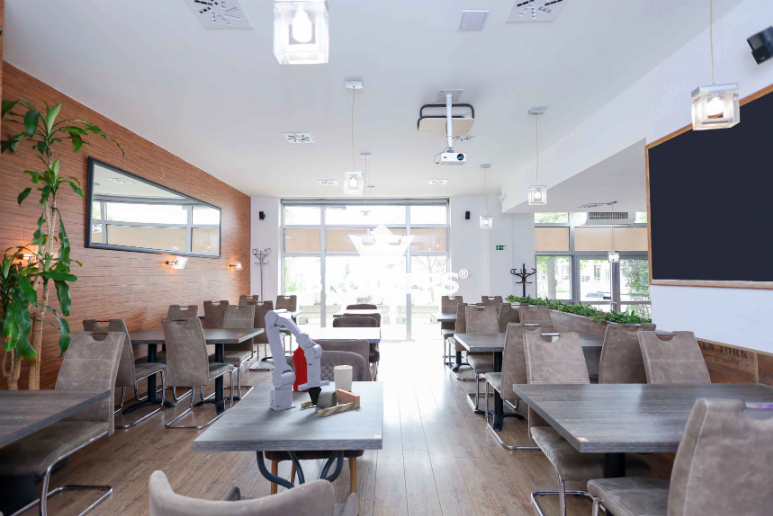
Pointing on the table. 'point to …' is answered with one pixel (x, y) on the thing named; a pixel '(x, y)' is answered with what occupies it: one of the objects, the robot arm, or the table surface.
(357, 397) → the end stop
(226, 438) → the table surface
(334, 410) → the rails
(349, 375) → the candle holder
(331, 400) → the ceramic mug
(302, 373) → the water bottle
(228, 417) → the table surface
